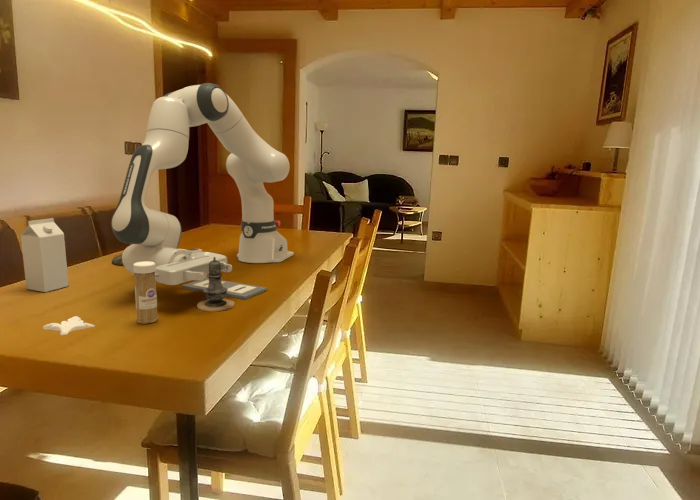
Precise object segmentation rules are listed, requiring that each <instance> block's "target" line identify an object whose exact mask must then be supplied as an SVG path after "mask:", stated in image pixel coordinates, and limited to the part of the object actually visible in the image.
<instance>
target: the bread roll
mask: <svg viewBox="0 0 700 500" xmlns="http://www.w3.org/2000/svg"><path fill="white" fill-rule="evenodd" d="M122 254H123V252H122V253H119V254H116V255H115V256H113V258H112V259H111V263H112V264H114V265H116V266H120V267H125V266H124V265H123V262H122Z"/></svg>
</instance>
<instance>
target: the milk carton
mask: <svg viewBox="0 0 700 500" xmlns="http://www.w3.org/2000/svg"><path fill="white" fill-rule="evenodd" d="M27 223H28V225H27V226H26V228H24V230H23V231H22V232H21V234H20V240H21V252H22V261H23V268H24V279H25V287H26V290H30V291H36V292H42V293H48V292H52V291H56V290H58V289H62V288H66V287H69V285H70V284H69V275H68V273H69V272H68V263H67V255H66V253H67V252H66V251H67V250H66V242H65V234H64V233H65V232H63V230H62V229H61V228H60V227H59V226H58V225H57V224H56V222H55V218H54V217H51V218H50V217H49V218H43V219H42V218H41V219H35V220H28V221H27Z"/></svg>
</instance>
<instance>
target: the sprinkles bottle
mask: <svg viewBox="0 0 700 500" xmlns="http://www.w3.org/2000/svg"><path fill="white" fill-rule="evenodd" d="M155 271H156V266H155V263H154V262H149V261H145V262H137V263H134V264H133V272H134V274H133V275H134V295H135V298H134V299H135V309H136V322H137V323H138V324H144V325H145V324H152V323H155V322H157V321H158V319H159V317H158V296H157V286H156V285H157V284H156V283H157V281H156V280H155Z"/></svg>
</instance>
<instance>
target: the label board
mask: <svg viewBox="0 0 700 500" xmlns="http://www.w3.org/2000/svg"><path fill="white" fill-rule="evenodd" d="M221 282H222V286H223V287H225V288H227V289H228V290H227V291H226V296H225V297H229V298H234V299H240V300H245V299H246V300H248V299H251V298H252V296H253V297H255V296H257V294H258V295H260V294H262V293H261V292H263V293H264V291H265V292H267V291H268V287H265V286H259V285H252V284H246V283H240V282H235V281H230V280H229V281H228V280H223V279H221ZM208 286H209V277H207V278H206V279H205V280H202V281H200V280H193V281H191V282H188V283H184V284H181V289H186V290H191V291H197V292H200V293H201V292H202V293H204V292H203V290H204V289H206V288H208ZM259 293H260V294H259ZM254 295H255V296H254ZM250 297H251V298H250Z"/></svg>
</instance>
